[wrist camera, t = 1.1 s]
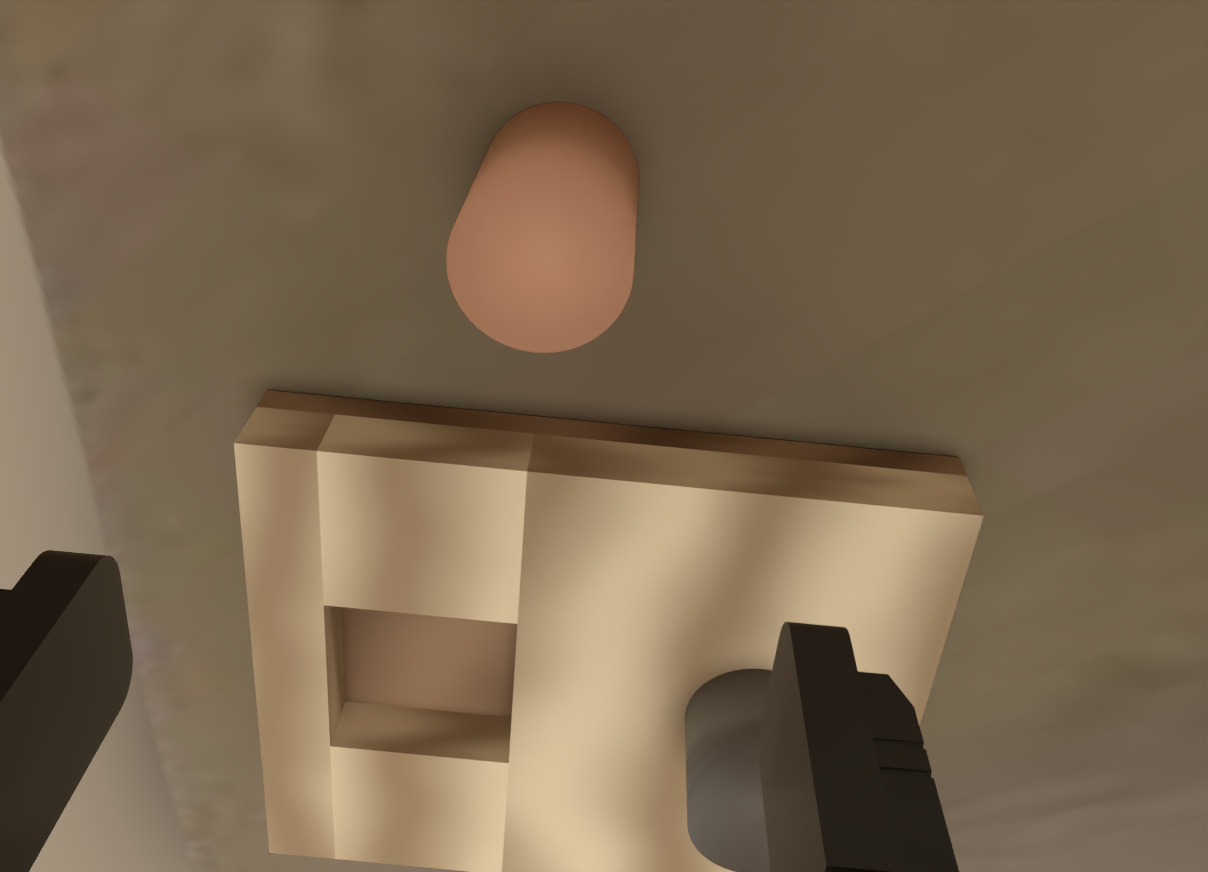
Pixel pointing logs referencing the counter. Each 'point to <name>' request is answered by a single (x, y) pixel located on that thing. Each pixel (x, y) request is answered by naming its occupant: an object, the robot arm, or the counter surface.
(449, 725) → the pin board
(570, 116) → the terracotta pin
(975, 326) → the counter surface
